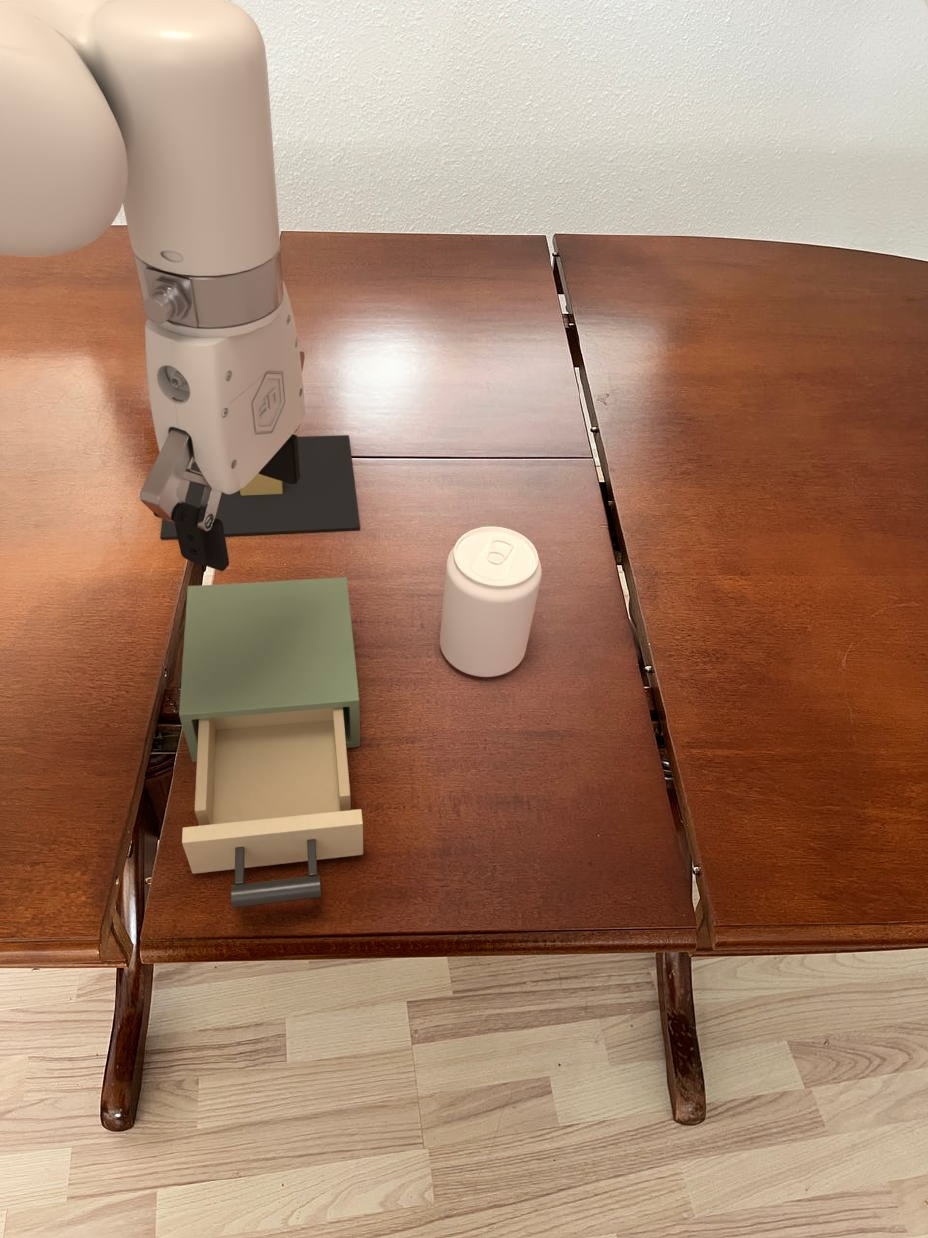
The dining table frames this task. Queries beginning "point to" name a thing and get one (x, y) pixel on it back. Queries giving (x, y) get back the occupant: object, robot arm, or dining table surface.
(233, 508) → the mat
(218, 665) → the cabinet
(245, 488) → the box
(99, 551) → the dining table surface
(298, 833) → the drawer
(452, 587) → the beverage can
